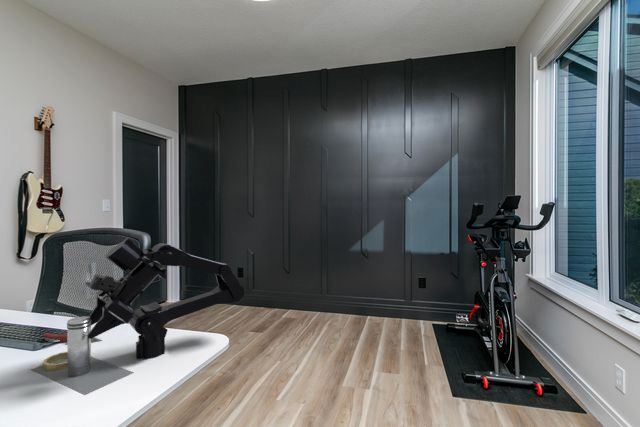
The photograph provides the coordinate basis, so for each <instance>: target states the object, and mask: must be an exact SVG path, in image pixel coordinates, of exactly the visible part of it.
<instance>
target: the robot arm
mask: <svg viewBox="0 0 640 427" xmlns="http://www.w3.org/2000/svg"><path fill="white" fill-rule="evenodd" d="M104 256H105V258H106V259H107V260H109V261H110V262H111V263H112V264H114V265H115V266H116V267H117V268H119V269H120V270H121V271H123V272H125V271H127V270H129V271H130V272H129V273H128V274H127V275H126V276H121V277H120V278H119V279H115V278H114V277H113V276H109V275H107V274H106V275H101V274H97V273H95V274H94V276H93V277H92V279H91V281H90V283H89V285H88V286H89V288H90V289H91V290H95V291H97V293H96V294H97V295H96V296H95V299H96V300H95V301H96V302H95V303H96V304H95V306H94V308H93V310H92V311H91V312H90V314H89V316H88V317H91V326H93V325H94V326H93V327H91V331H90V332H89V334H88V335H87V337H88V338H90V339H92V338H94V337H96V338H97V337H98V336H100V335H102V334H104V333H105V332H106V333H107V332H108V331H110V330H112V329H114V328H116V327H119V326H121V325H124V324H129V326H131V328H132V329H133V330H134V331H135V332H136V333H137V334H138V338H137V339H138V340H137V341H136V342H135V359H136V360H151V359H156V358H158V357H160V356H162V355H165V354H166V353H165V352H166V351H165V350H166V349H165V347H166V345H165V341H166V340H165V339H166V335H167V334H168V329H167V328H166V327H165V326H166V325H168V323H169V322H172V321H173V320H176V319H179V318H183V317H185V316H188V315H191V314H193V313H197V312H199V311H202V310H205V309H207V308H210V307H213V306H216V305H229V304H236V303H239V302H241V301H242V300H243V298H244V296H245V289H244V287H243V285H241V284H240V282H239V280H238V278H237V277H236V276H235V274H234V273H233V271H232V269H231V267H230V265H229V264H227V263H224V262H218V261H214V260H210V259H207V258H203V257H199V256H196V255H193V254H189V253H188V252H185V251H184V250H182V249H180V248H178V247H176V246H174V245H171V244H167V243H162V242H161V243H157V244H155V245H154V246H153V247H152V248H147V249H146V248H145V249H141V248H139V247H138V246H137V245H136V244H135V243H134V241H132V240H131V239H130V238H125V239H124V240H122V241H121V242H119V243H118V244H117V245H114V246H113V247H112V248H111V249H110V250H109V251H108V252H107V253H106V254H105V255H104ZM143 258H144V259H143ZM145 259H146V260H149V261H152V262H149V263H148V262H147V261H146V260H145ZM156 263H157V264H159V265H163V266H164V267H159V266H158V265H157V264H156ZM165 266H167V267H187V268H191V269H195V270H198V271H203V272H207V273H211V274H214V276H215V278H216V283H217V286H215V287H214V288H213V289H212V290H211V291H207V292H205V293H202V294H198V295H195V296H192V297H189V298H186V299H183V300H180V301H176V302H173V303H170V304H167V305H163V306H162V305H161V304H159V303H158V302H156V301H153V302H151V303H148V304H147V305H146V304H145V305H139V307H140V308H137V309H135V310H133V308H132V303H133V302H134V301H135V300H136V299H137V298H138V297H139V296H143V295H144V294H145V290H146V288H148V287H149V285H151V283H152V282H153V281H154V280H155V279H156V278H157V277H158V276H159V277H160V278H161V279H164V280H166V279H167V273H166V271H167V268H165Z"/></svg>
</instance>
